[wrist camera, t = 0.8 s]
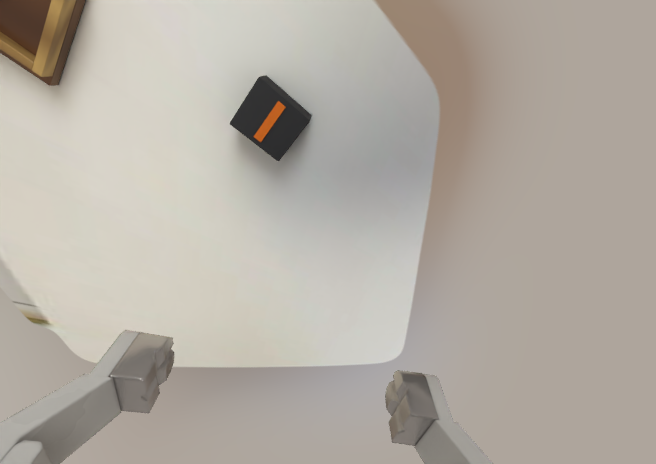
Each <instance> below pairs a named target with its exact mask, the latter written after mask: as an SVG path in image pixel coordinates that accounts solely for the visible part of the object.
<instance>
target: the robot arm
mask: <svg viewBox="0 0 656 464" xmlns="http://www.w3.org/2000/svg"><path fill="white" fill-rule="evenodd" d="M173 344H174V343H173V338H172V337H166V336H160V335H154V334H148V333H142V332H136V331H129V330H125V331H124V332H122V333H121V334H120V335H119V336H118V338H117V339H116V340H115V342H114V343H113V344H112V345H111V347H110V348H109V349H108V351H107V352H106V353H105V354H104V356H103V357H102V358H101V360H100V361H99V362H98V363H97V365H96V366H95V367H94V369H93V370H92V371H91V373H90V374H83V375H81V376H79V377H78V378H76V379H74V380H73V381H71V382H69V383H67V384H66V385H64V386H62V387H61V388H59V389H57V390H55V391H54V392H52V393H50V394H49V395H47V396H45V397H43V398H42V399H40V400H38V401H37V402H35V403H33V404H31V405H30V406H28V407H26V408H25V409H23V410H21V411H19V412H18V413H16V414H14V415H13V416H11V417H9V418H7V419H6V420H4V421H2V422H1V423H0V464H60V463H61V462H62V461H64V460H65V459H66V458H67V457H68V456H70V455H71V454H72V453H73V452H74V451H76V450H77V449H78V448H79V447H80V446H82V445H83V444H84V443H85V442H86V441H88V440H89V439H90V438H91V437H92V436H94V435H95V434H96V433H97V432H98V431H100V430H101V429H102V428H103V427H105V426H106V425H107V424H108V423H109V422H111V421H112V420H113V419H114V418H115V417H117V416H118V415H119V414H120V413H121V411H129V412H141V413H150V410H151V409H152V407H153V405H154V403H155V401H156V399H157V397H158V395H159V393H160V392H159V385H160V384H162V383H163V382H164V381H166V380H167V378H168V376H169V374H170V372H171V369H172V366H173V363H174V351H173V350H172V349H171V348H172V346H173ZM393 378H394V381H392V382H390V383H389V384H388V386H387V389H386V396H385V397H386V408H387V410H388V412H389V413H390V414H391V416H392V417H391V419H390V421H389V426H390V431H391V438H392V442H393V443H399V444H406V445H413V446H415V449H416V450H417V452H418V453H419V455H420V457H421V459H422V460H423V462H424V463H425V464H493V463H492V462H491V460H490V459H489V458H488V457H487V456H486V455H485V454H484V452H483V451H482V450H481V449H480V448H479V447H478V446H477V444H476V443H475V442H474V441H473V440H472V439H471V437H470V436H469V435H468V434H467V433H466V432H465V431H464V429H463V428H462V427H461V426H460V425H459V424H458V423H457V422H454V421H453V418H452V416H451V413H450V410H449V407H448V404H447V401H446V399H445V396H444V393H443V390H442V387H441V384H440V382H439V379H438V378H437V376H434V375H427V374H422V373H415V372H408V371H400V370H398V371H396V372H395V373H394V375H393Z"/></svg>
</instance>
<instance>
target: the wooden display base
mask: <svg viewBox="0 0 656 464" xmlns="http://www.w3.org/2000/svg"><path fill="white" fill-rule="evenodd" d="M85 1H86V0H0V53H2V54H3V55H5V56H6V57H8V58H9V59H11V60H12V61H14V62H15V63H17V64H18V65H20V66H21V67H23V68H24V69H26V70H27V71H29V72H30V73H32V74H33V75H35V76H36V77H38V78H39V79H41V80H42V81H44V82H45V83H47V84H48V85H50V86H51V85H58V83H59V80H60V77H61V74H62V71H63V68H64V65H65V62H66V59H67V56H68V53H69V50H70V47H71V43H72V40H73V37H74V34H75V31H76V28H77V25H78V22H79V19H80V16H81V13H82V10H83V7H84V4H85Z"/></svg>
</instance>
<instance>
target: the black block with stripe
mask: <svg viewBox="0 0 656 464" xmlns="http://www.w3.org/2000/svg"><path fill="white" fill-rule="evenodd" d="M310 118H311V114H310V113H308V112H307V111H306V110H305V109H304V108H303V107H302V106H300V105H299V104H298V103H297V102H296V101H295V100H294V99H292V98H291V97H290V96H289V95H288V94H287V93H286V92H284V91H283V90H282V89H281V88H280V87H279V86H278V85H276V84H275V83H274V82H273V81H272V80H271V79H270V78H268V77H267V76H261V77H259V78H258V79H257V81H256V83H255V84H254V86H253V87H252V89H251V90H250V92H249V94H248V95H247V97H246V98H245V100H244V101H243V103H242V105H241V106H240V108H239V109H238V111H237V113H236V114H235V116H234V117H233V119H232V120H231V122H230V124H231V125H232V126H233V127H234V128H236V129H237V130H238V131H240V132H241V133H242V134H244V135H245V136H246V137H247V138H249V139H250V140H251V141H253V142H254V143H255V144H256V145H258V146H259V147H260V148H262V149H263V150H264V151H266V152H267V153H268V154H269V155H271V156H272V157H273V158H275V159H276V160H277V161H279V160H280V159H281V158H282V156H283V155H284V154H285V153H286V151H287V150H288V149H289V147H290V146H291V145H292V143H293V142H294V141H295V139H296V138H297V137H298V136H299V134H300V133H301V132H302V130H303V129H304V128H305V126H306V125H307V124H308V122H309V121H310Z"/></svg>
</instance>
